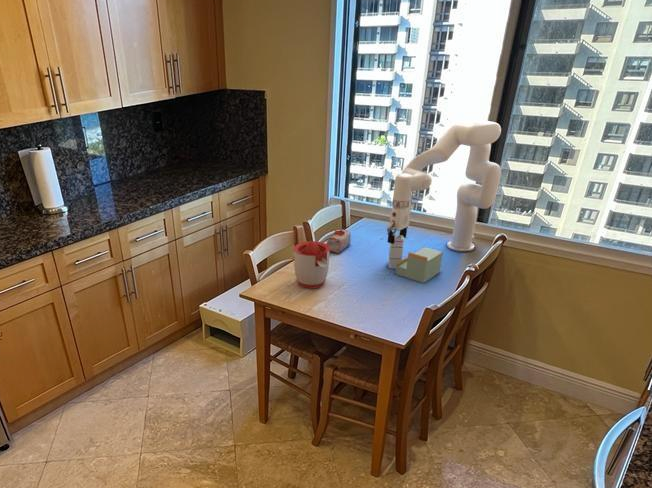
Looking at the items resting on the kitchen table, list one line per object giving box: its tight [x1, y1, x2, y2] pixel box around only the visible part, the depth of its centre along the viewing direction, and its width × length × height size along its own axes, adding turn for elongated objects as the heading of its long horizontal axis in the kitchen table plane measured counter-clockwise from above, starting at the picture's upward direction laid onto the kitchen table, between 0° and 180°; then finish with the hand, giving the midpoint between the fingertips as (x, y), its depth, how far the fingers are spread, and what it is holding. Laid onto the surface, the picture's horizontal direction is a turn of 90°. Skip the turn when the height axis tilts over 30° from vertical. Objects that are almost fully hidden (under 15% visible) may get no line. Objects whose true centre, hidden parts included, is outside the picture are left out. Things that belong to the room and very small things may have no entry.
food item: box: [326, 229, 352, 255], centre depth 258 cm, size 14×8×10 cm, turn 144°
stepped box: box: [395, 246, 444, 284], centre depth 229 cm, size 14×14×12 cm
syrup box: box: [388, 234, 405, 270], centre depth 236 cm, size 6×6×14 cm
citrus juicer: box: [293, 240, 330, 289], centre depth 223 cm, size 16×17×20 cm
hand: (396, 240), depth 233 cm, fingers open, 9 cm apart
